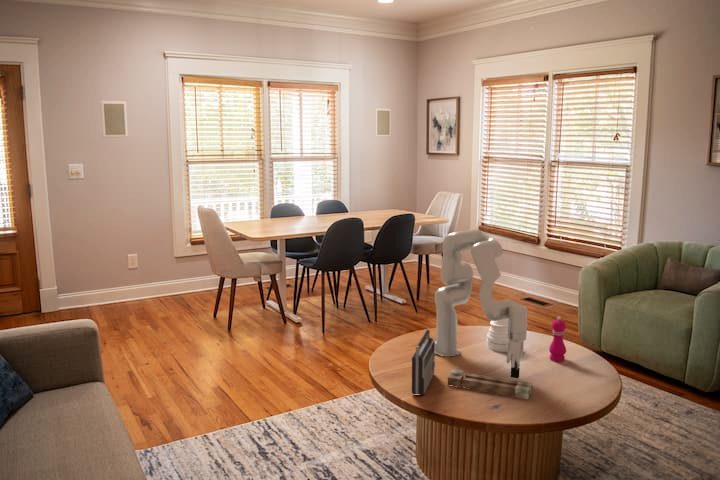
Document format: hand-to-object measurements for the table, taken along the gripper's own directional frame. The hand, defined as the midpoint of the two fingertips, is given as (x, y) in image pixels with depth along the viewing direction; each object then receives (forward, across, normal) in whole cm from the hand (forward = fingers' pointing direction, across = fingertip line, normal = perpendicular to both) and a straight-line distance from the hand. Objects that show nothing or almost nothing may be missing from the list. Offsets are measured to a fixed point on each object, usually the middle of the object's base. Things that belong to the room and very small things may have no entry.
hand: (514, 377), depth 249 cm
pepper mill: (+2, -32, +12) cm, 34 cm away
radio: (+2, +19, -33) cm, 38 cm away
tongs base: (+2, +12, -8) cm, 14 cm away
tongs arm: (+1, +10, -5) cm, 11 cm away
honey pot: (+2, -38, -15) cm, 41 cm away
